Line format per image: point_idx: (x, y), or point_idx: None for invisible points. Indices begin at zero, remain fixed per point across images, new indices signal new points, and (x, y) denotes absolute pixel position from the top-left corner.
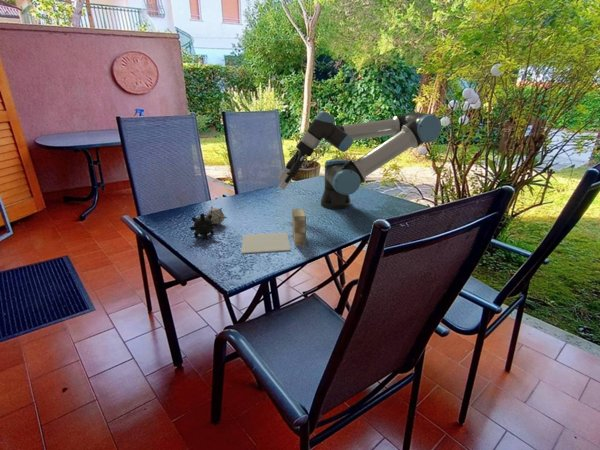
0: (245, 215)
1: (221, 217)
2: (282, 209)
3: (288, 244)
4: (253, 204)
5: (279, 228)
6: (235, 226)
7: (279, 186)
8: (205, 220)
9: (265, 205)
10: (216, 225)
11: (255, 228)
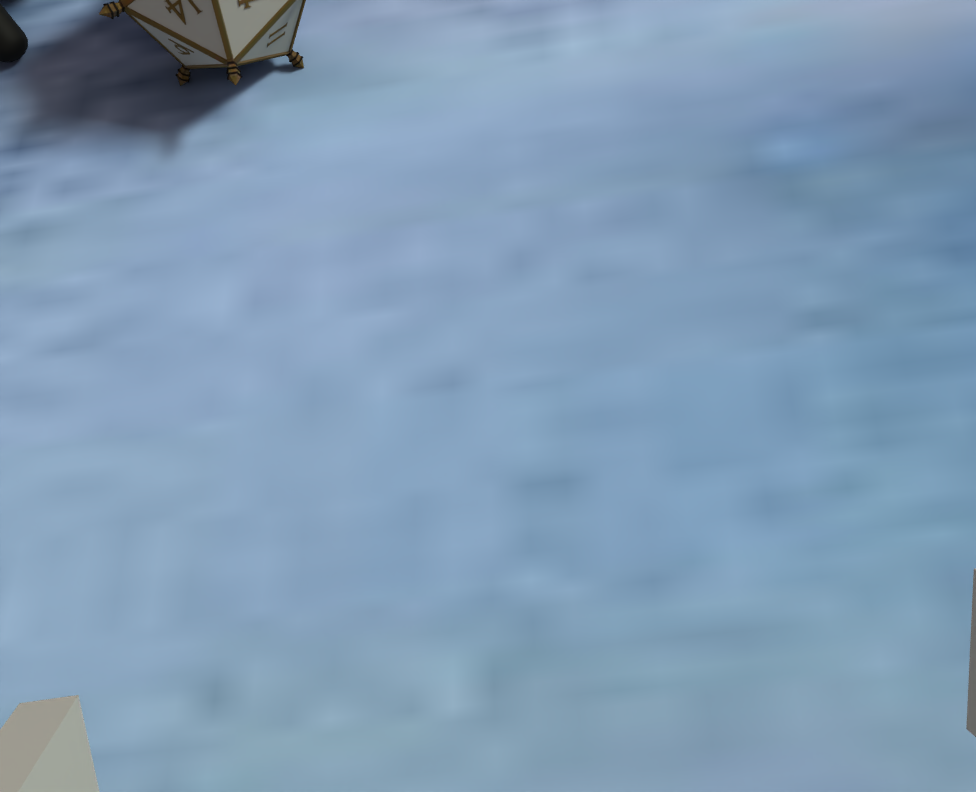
0: (520, 264)
1: (149, 23)
2: (801, 720)
3: None
4: (930, 297)
5: None
6: (173, 217)
7: (19, 722)
8: None
9: (925, 450)
10: None
11: (76, 432)
